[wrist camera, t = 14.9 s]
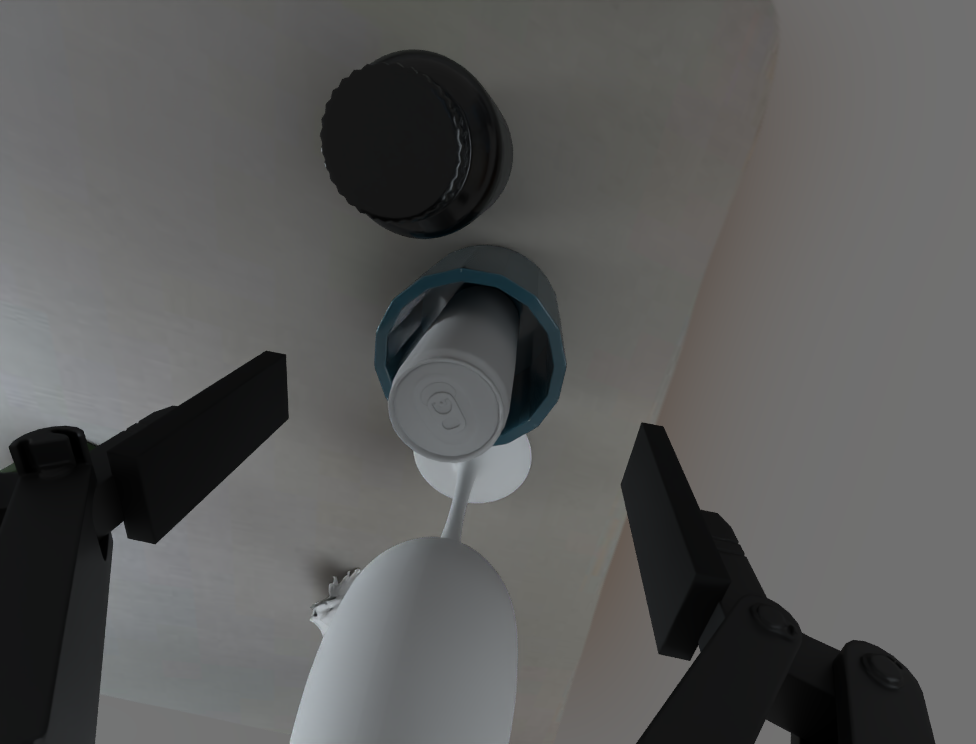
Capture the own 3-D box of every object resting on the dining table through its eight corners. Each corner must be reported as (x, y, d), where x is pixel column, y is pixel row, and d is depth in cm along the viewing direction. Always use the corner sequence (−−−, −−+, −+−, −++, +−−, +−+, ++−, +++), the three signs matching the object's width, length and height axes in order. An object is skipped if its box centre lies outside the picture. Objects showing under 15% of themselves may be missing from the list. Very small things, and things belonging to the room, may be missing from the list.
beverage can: (503, 270, 27) (476, 336, 16) (532, 342, 29) (527, 446, 18) (431, 300, 28) (361, 380, 17) (463, 367, 30) (418, 479, 19)
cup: (502, 212, 26) (487, 226, 19) (587, 336, 29) (602, 390, 22) (387, 301, 29) (336, 342, 22) (472, 406, 32) (452, 475, 24)
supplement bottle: (370, 155, 26) (245, 140, 15) (453, 54, 24) (376, -51, 13) (454, 245, 27) (397, 292, 17) (540, 159, 25) (539, 147, 14)
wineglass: (535, 405, 31) (526, 771, 12) (527, 506, 35) (510, 916, 15) (411, 395, 32) (216, 726, 13) (416, 495, 35) (267, 874, 16)
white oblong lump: (319, 573, 42) (366, 667, 43) (283, 621, 35) (339, 731, 36) (367, 553, 41) (413, 648, 42) (340, 598, 35) (396, 709, 35)
